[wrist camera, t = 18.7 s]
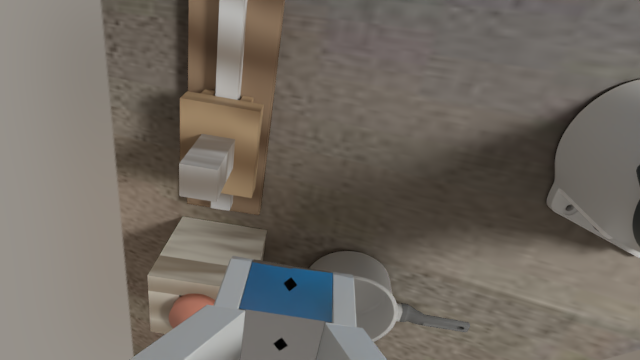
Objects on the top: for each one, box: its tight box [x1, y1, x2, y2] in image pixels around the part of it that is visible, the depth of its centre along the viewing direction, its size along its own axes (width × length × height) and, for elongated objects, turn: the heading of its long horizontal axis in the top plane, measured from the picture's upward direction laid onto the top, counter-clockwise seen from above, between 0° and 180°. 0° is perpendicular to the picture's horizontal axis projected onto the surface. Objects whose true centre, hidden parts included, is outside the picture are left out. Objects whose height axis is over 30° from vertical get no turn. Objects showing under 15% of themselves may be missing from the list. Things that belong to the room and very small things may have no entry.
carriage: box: [179, 89, 264, 202], centre depth 36 cm, size 9×7×9 cm
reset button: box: [169, 293, 215, 329], centre depth 42 cm, size 5×5×4 cm
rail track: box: [147, 0, 285, 334], centre depth 35 cm, size 50×10×10 cm, turn 170°
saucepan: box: [309, 251, 470, 342], centre depth 49 cm, size 12×20×6 cm, turn 82°
